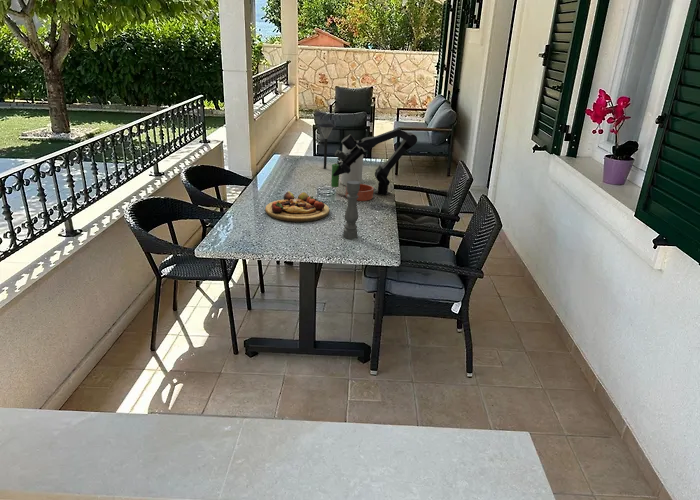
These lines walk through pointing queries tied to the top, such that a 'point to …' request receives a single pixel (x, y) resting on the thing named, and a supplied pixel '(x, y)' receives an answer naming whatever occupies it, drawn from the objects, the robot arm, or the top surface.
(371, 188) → the pot
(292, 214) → the wooden plate
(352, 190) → the candle holder
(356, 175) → the cylinder vase
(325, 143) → the solar garden light
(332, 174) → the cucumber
